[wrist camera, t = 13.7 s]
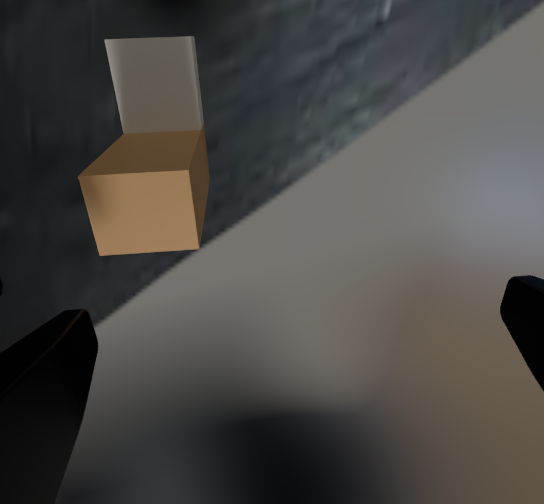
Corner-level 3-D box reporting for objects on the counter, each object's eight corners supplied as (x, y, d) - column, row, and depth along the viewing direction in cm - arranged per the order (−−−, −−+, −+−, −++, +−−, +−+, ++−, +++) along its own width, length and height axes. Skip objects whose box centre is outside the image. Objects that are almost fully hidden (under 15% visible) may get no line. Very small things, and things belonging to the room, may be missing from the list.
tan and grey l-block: (143, 182, 15) (99, 255, 10) (115, 39, 12) (41, 42, 8) (209, 179, 15) (199, 249, 10) (194, 36, 12) (170, 37, 8)
